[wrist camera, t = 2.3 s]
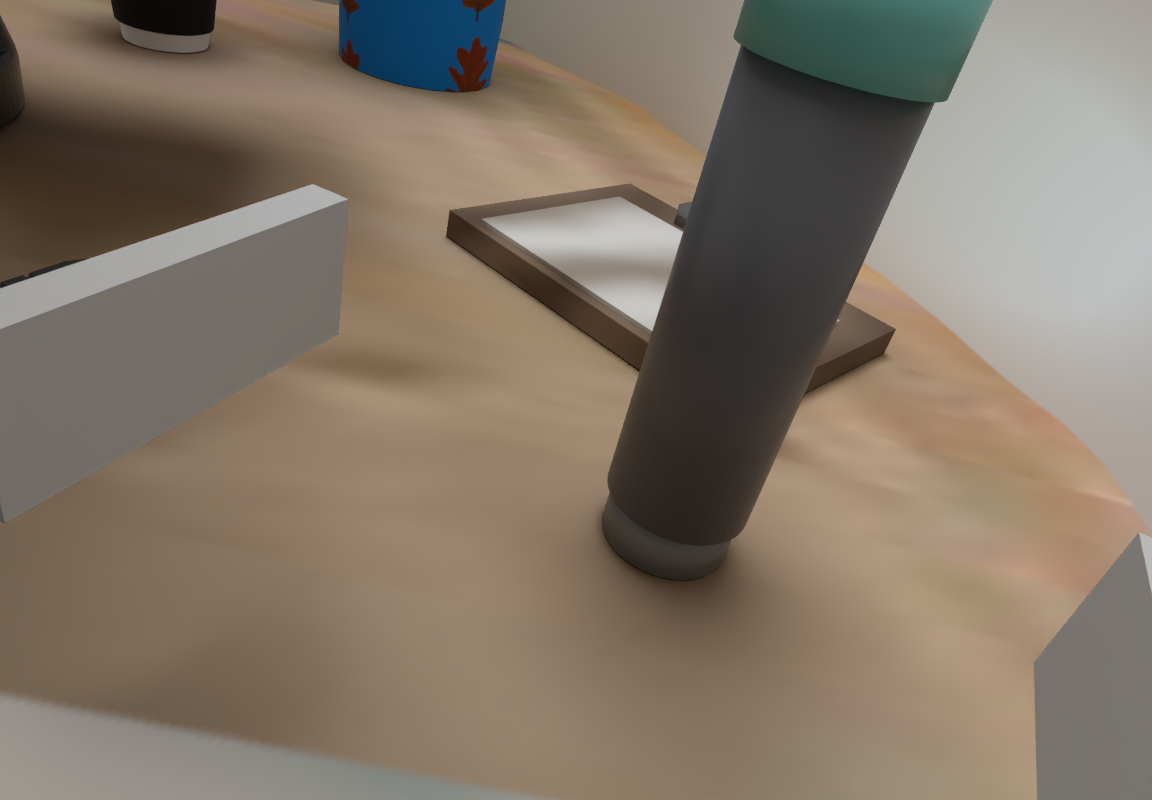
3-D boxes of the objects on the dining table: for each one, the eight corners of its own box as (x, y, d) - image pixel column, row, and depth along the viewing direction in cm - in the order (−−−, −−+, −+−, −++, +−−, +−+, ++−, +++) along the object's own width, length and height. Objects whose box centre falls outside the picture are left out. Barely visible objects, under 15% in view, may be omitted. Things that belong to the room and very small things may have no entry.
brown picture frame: (446, 235, 37) (453, 188, 36) (624, 204, 45) (634, 165, 44) (728, 432, 29) (749, 380, 28) (884, 352, 37) (905, 309, 36)
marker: (556, 514, 24) (722, -87, 15) (655, 464, 27) (838, -62, 18) (673, 616, 21) (939, -22, 13) (766, 550, 24) (1031, -6, 16)
